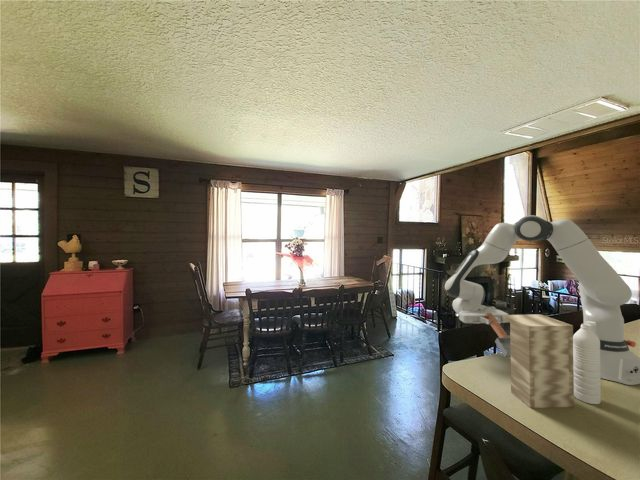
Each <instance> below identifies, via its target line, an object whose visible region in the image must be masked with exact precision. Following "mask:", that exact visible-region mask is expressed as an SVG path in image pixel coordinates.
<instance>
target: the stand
mask: <svg viewBox="0 0 640 480" xmlns="http://www.w3.org/2000/svg"><path fill="white" fill-rule="evenodd" d="M502 319H503V320H505V321H507V322H508V323H509V324H510V327H509V331H510V332H509V335H510V336H509V337H510V347H511V357H510V393H511V394H513V396H515V397H516V398H517V399H518V400H520V401H521V402H522V403H524V404H525V405H526V406H527V407H528V408H530V409H531V408H532V409H533V408H534V409H538V408H540V409H541V408H574V407H575V396H574V370H573V335H574V325H573V324H570V323H566V322H565V321H561V320H558V319H556V318H553V317H549V316H547V315H545V314H544V315H543V314H541V313H540V314H538V313H537V314H509V315H502Z"/></svg>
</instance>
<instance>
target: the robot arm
mask: <svg viewBox="0 0 640 480" xmlns="http://www.w3.org/2000/svg"><path fill="white" fill-rule="evenodd" d="M520 240H523V241H526V242H537V241H543V240H547V241H548V242H549V243H550V244H551V245H552V247H553V248H554V250H555V251H556V253H557V254H558V255H559V257H560V258H561V261H563V263H564V265H565V266H566V268H568V269H569V271H570V272H571V273H572V275H574V277H575V278H576V279H577V280H578V285H579V286H578V287H579V294H580V302H581V309H582V316H583V320H582V321H583V324H586V321H592V322H596V326H591V330H592V331H593V332H594V333H595V335H596V336H597V337H598V338H599V340H600V379H604V380H608V381H612V382H617V383H620V384H624V385H627V386H635V385H640V356H639V355H637V354H636V353H635V352H633V350H632V351H631V350H630V347H632V348H635V347H636V346H637V343H636V342H635V341H632V340H629V339H628V340H626V339H625V319H624V316H623V315H622V311H621V306H622V305H625V304H627V303H628V302H629V301H630V300H631V298H632V295H633V294H632V293H633V292H632V290H631V288H630V286H629V285H628V283H626V282H625V281H624V278H622V277H621V276H620V274H618V272H617V271H616V270H615V269H614V267H612V265H610V264H609V262H608V261H607V260H606V259H605V258H604V257H603V256H602V254H601V252H599V251H598V250H597V248H596V247H595V245H594V244H593V242H592V240H591V239H589V237H588V236H587V235H586V233H584V231H583V230H582V229H581V227H579V226H578V225H577V224H576V223H575V222H573V220H571V219H568V218H559V219H556V220H553V221H548V220H546V219H544V218H542V217H540V216H538V215H534V214H533V215H531V214H530V215H526V216H523V217H521V218H520V219H519V220H518V221H516V222H515V223H512V224H511V223H508V222H498V223H497V224H495V225H494V226H493V228H492V229H490V232H489V233H488V234H487V236H486V237H485V239H484V241H483V242H482V244H481V245H480V246H479V247H478V248H476V249H473V250H471V251H470V252H469V253H468V254H467V255H466V257H465V258H464V259H463V261H462V262H461V263H460V264H459V266H458V267H457V268H456V269H455V271H454V272H453V273H452V275H451V276H450V277H448V278H447V279H446V281H445V283H444V286H443V287H444V291H445V293H446V294H447V295H448V296H449V297H451V298H455V299H454V300H453V301H452V304H451V306H452V309H453V310H454V312H455V316H456V317H458V319H459V321H461V322H462V323H464V324H486V325H490V324H492V323H491V322H492V321H491V320H490V319H486V318H485V315H486V313H492V315H493V316H494V317H495V319H496V320H497V321H498V323H499V324H500V325H501V324H502V323H503V324H504V323H509V322H507V321H505V320H503V319H502V315H510V314H509V313H508V312H505V311H504V310H501V309H497V308H496V307H495V306H493V305H485V304H484V301H485V299H486V298H485V297H486V290H485V288H484V287H483V285H481V284H479V283H476V282H473V281H468V280H466V278H467V276H468V275H469V273H470V272H471V271H472V270H473V269H474V268H475V267H477V266H481V265H493V264H494V265H495V264H499V263H501V262H503V261H504V260H505V259H506V258H507V257H508V256H509V253H510V252H511V249H513V246H514V244H515V243H516V242H518V241H520ZM589 325H590V324H589Z"/></svg>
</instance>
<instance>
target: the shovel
mask: <svg viewBox="0 0 640 480" xmlns="http://www.w3.org/2000/svg"><path fill="white" fill-rule="evenodd" d="M485 318H486V319H490V320H491V321H492V322H491V323H492V324H489V325H490V326H491V328H492V329H493V331H494V332H495V334H497V336H498V337H496V339H495V340H494V343H495V344H496V346H497V347H498V349H499V350H500V351H501V353H502V355H503V356H504V357H505V358H511V347H510V336H509V335H508V333H507V332H506V331H505V329H504V328H503V327H502V325H501V323H500V324H499V323H498V321H497V320H496V319H495V317H494V316H493V315H492V313H486V315H485Z"/></svg>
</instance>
